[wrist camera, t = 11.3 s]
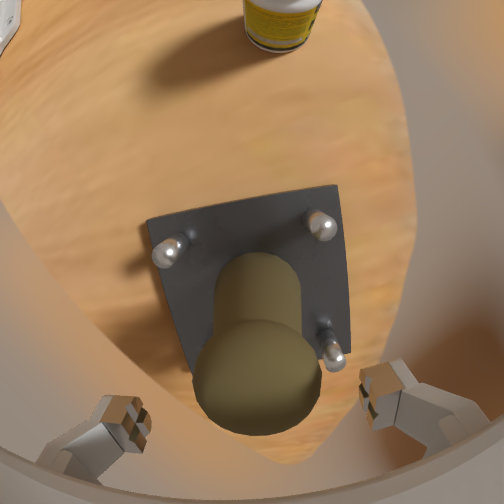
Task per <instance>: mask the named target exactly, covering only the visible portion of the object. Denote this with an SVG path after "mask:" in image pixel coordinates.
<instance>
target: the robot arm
mask: <svg viewBox="0 0 504 504" xmlns="http://www.w3.org/2000/svg"><path fill="white" fill-rule="evenodd" d="M20 10H21V0H0V55H1V53H2V51H3V49H4V48H5V46H6V45H7V44H8V42H9V41H10V39H11V38H12V37H13V35H14V34H15V32H16V31H17V29H18V27H19V25H20ZM359 378H360V380H361V384H360V386H359V399H360V403H361V406H362V409H363V410H364V411H366V412H367V421H368V423H369V426H370V428H371V430H372V431H375V430H378V429H382V428H385V427H388V426H392V425H394V426H395V427H397V428H398V429H400V430H402V431H403V432H405V433H406V434H408V435H409V436H411V437H413V438H414V439H416V440H417V441H419V442H421V443H422V444H424V445H426V446H427V447H428V448H427V450H426V453H425V455H424V457H423V459H422V460H420V461H417V462H415V463H412V464H410V465H407V466H405V467H402V468H400V469H397V470H394V471H391V472H388V473H385V474H382V475H380V476H376V477H373V478H370V479H366V480H363V481H359V482H356V483H352V484H348V485H344V486H340V487H336V488H331V489H327V490H322V491H316V492H311V493H305V494H299V495H291V496H284V497H275V498H264V499H251V500H250V499H249V500H195V499H180V498H170V497H161V496H153V495H146V494H140V493H134V492H129V491H124V490H119V489H114V488H110V487H106V486H104V485H102V483H101V482H99V481H98V480H97V478H98V477H99V476H100V475H101V474H102V473H103V472H104V471H106V470H107V469H108V468H109V467H110V466H111V465H112V464H113V463H114V462H115V461H116V460H117V459H118V458H120V457H121V456H122V455H123V454H124V452H130V453H141V454H142V453H143V451H144V448H145V445H146V442H147V441H146V439H145V437H146V436H147V435H148V434H149V433H150V431H151V418H150V415H149V414H148V412H147V411H146V410H145V409H143V408H142V405H143V403H142V401H141V400H140V398H139V397H133V396H113V395H105V396H103V397H102V399H101V400H100V402H99V404H98V406H97V407H96V409H95V411H94V412H93V414H92V416H91V417H90V419H89V421H87V420H85V421H84V422H82V423H81V424H79V425H77V426H76V427H74V428H73V429H71V430H69V431H68V432H66V433H64V434H63V435H61V436H60V437H58V438H56V439H54V440H53V441H51V442H49V443H48V444H46V446H45V448H44V449H43V451H42V453H41V454H40V456H39V458H38V459H37V461H36V463H34V462H31V461H29V460H27V459H25V458H23V457H20V456H18V455H16V454H14V453H12V452H10V451H8V450H6V449H4V448H2V447H0V504H504V414H503V415H502V416H500V417H499V418H497V419H496V420H494V421H493V422H492V423H490V421H489V420H488V419H487V417H486V416H485V415H484V413H483V412H482V411H481V409H480V408H479V407H478V405H477V404H476V403H475V402H474V401H472V400H469V399H466V398H463V397H460V396H457V395H454V394H452V393H449V392H446V391H443V390H441V389H438V388H435V387H433V386H430V385H427V384H425V383H421V384H419V383H418V382H417V380H416V379H415V377H414V376H413V375H412V373H411V372H410V370H409V369H408V368H407V366H406V365H405V363H404V362H403V361H402V359H401V358H396V359H393V360H390V361H387V362H384V363H381V364H377V365H374V366H371V367H367V368H363V369H360V373H359Z"/></svg>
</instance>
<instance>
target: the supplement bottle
mask: <svg viewBox="0 0 504 504" xmlns="http://www.w3.org/2000/svg"><path fill="white" fill-rule="evenodd" d="M322 1H323V0H243V10H244V23H245V31H246V34H247V36H248V38H249V39H250V41H251V42H252V43H253V44H254V45H256V46H257V47H259V48H260V49H262V50H265V51H268V52H273V53H286V52H291V51H294V50H296V49H298V48H300V47H301V46H302V45H303V44H304V43H305V42H306V41H307V39H308V37H309V35H310V32H311V29H312V27H313V24H314V21H315V19H316V16H317V13H318V11H319V8H320V6H321V3H322Z"/></svg>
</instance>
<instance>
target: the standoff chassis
mask: <svg viewBox="0 0 504 504" xmlns="http://www.w3.org/2000/svg"><path fill="white" fill-rule="evenodd" d="M146 222H147V227H148V231H149V235H150V239H151V243H152V247H153V251H152V260H153V262H154V264H155V265H156V266H157V267H158V270H159V274H160V278H161V281H162V285H163V288H164V292H165V295H166V299H167V302H168V305H169V308H170V312H171V315H172V318H173V321H174V324H175V327H176V330H177V333H178V336H179V339H180V342H181V345H182V348H183V351H184V354H185V357H186V359H187V362H188V365H189V368H190V370H191V373H192V376H193V372H194V368H195V363H196V360H197V357H198V354H199V353H200V351H201V350H202V348H203V347H204V346H205V344H206V343H207V341H208V340H209V339H210V338H211V337H212V336H213V313H214V289H215V284H216V280H217V277H218V275H219V274H220V272H221V271H222V269H223V268H224V266H225V265H227V264H228V263H229V262H230V261H232V260H233V259H234V258H236V257H238V256H241V255H244V254H247V253H255V252H264V253H268V254H272V255H275V256H278V257H279V258H281V259H282V260H284V261H285V262H287V263H288V264H289V265H290V266H291V267H292V269H293V270H294V271H295V272H296V274H297V277H298V279H299V282H300V285H301V314H302V337H303V338H304V339H305V340H306V341H307V342H308V343H309V345H310V346H311V347H312V348H313V349H314V351H315V354H316V356H317V359H318V360H319V359H323V360H324V363H325V366H326V369H327V370H328V371H330V372H338V371H340V370H342V369H343V368H344V367H345V365H346V359H345V357H344V355H343V354H347V353H351V331H350V306H349V288H348V274H347V262H346V251H345V241H344V232H343V223H342V215H341V207H340V200H339V193H338V186H337V185H333V184H332V185H325V186H318V187H311V188H305V189H298V190H292V191H286V192H280V193H274V194H268V195H262V196H256V197H251V198H245V199H240V200H234V201H229V202H224V203H219V204H214V205H209V206H204V207H199V208H194V209H189V210H185V211H180V212H176V213H171V214H166V215H162V216H158V217H153V218H150V219H148V220H146ZM192 383H193V380H192Z"/></svg>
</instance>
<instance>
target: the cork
mask: <svg viewBox="0 0 504 504" xmlns="http://www.w3.org/2000/svg"><path fill="white" fill-rule="evenodd" d="M321 378H322V371H321V368H320V365H319V362H318V359H317V356H316V354H315V351H314V349H313V348H312V347H311V346H310V345H309V343H308V342H307V341H306V340H305V339H304V338H303V337H302V314H301V285H300V282H299V279H298V277H297V274H296V272H295V271H294V270H293V269H292V267H291V266H290V265H289V264H288V263H287V262H285V261H284V260H282V259H281V258H279V257H278V256H275V255H272V254H268V253H264V252H255V253H247V254H244V255H241V256H238V257H236V258H234V259H233V260H232V261H230V262H229V263H228V264H227V265H225V266H224V268H223V269H222V271H221V272H220V274H219V275H218V277H217V280H216V284H215V289H214V313H213V336H212V337H211V338H210V339H209V340H208V341H207V343H206V344H205V346H204V347H203V348H202V350H201V351H200V353H199V354H198V357H197V360H196V363H195V368H194V372H193V387H194V392H195V396H196V400H197V402H198V403H199V405H200V406H201V408H202V409H203V411H204V412H205V413H206V415H207V416H208V418H209V419H211V420H212V421H213V422H215V423H216V424H217V425H219V426H220V427H222V428H224V429H227V430H229V431H231V432H234V433H238V434H243V435H249V436H264V435H272V434H276V433H280V432H284V431H286V430H288V429H290V428H292V427H294V426H296V425H298V424H299V423H300V422H301V421H302V420H303V419H305V418H306V417H307V416H308V415H309V413H310V412H311V410H312V409H313V407H314V405H315V403H316V402H317V400H318V398H319V396H320V388H321Z"/></svg>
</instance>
